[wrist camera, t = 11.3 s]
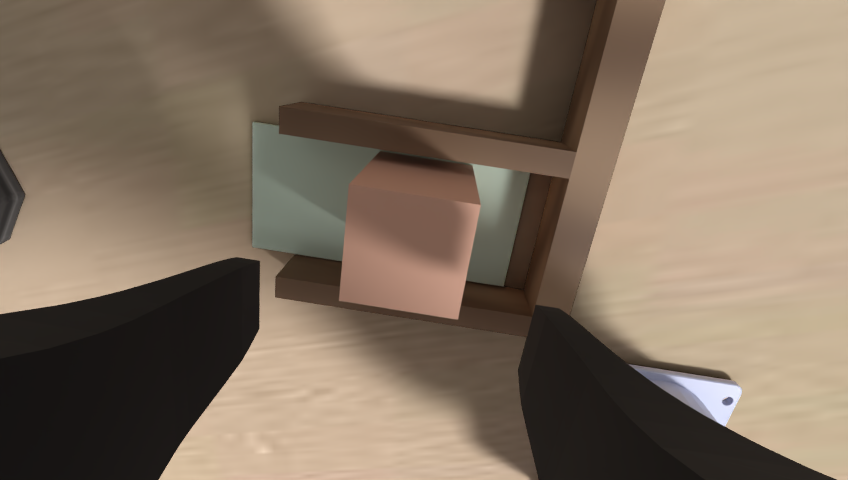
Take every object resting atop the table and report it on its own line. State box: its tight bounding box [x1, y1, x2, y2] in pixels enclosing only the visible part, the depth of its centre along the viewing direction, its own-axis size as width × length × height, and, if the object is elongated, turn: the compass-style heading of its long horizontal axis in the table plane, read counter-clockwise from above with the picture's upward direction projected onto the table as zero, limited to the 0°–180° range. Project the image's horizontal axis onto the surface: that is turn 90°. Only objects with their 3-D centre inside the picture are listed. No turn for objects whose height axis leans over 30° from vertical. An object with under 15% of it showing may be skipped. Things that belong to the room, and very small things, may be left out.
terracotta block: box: [339, 151, 481, 320], centre depth 17 cm, size 4×4×6 cm
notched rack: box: [252, 0, 665, 337], centre depth 16 cm, size 22×14×2 cm, turn 172°
